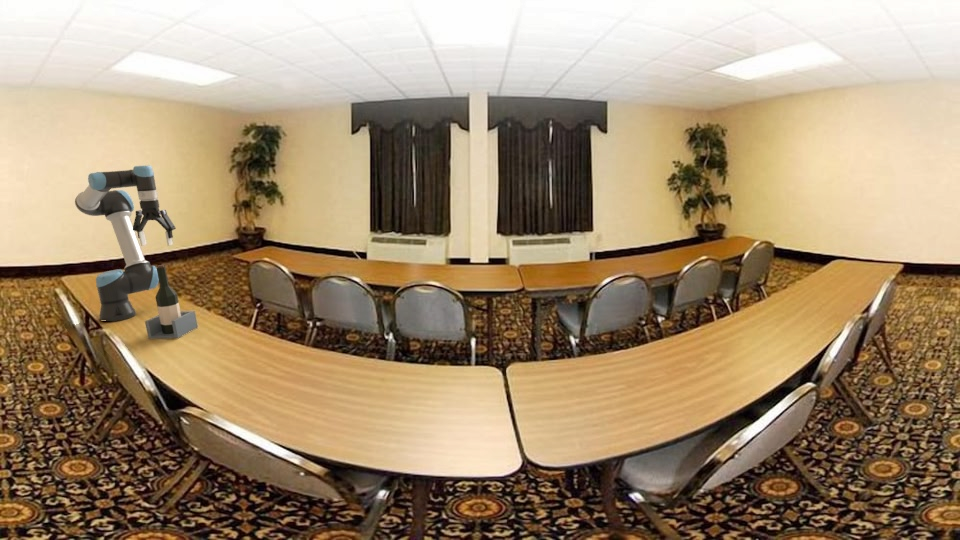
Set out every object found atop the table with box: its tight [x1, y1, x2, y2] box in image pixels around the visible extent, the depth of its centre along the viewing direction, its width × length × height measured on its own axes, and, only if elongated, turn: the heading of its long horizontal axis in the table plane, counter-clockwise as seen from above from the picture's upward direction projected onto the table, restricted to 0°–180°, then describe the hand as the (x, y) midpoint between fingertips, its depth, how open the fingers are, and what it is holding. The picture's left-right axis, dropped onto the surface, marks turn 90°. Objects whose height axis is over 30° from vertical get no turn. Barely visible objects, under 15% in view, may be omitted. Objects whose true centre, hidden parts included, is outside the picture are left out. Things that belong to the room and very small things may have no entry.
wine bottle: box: [155, 264, 181, 334], centre depth 241 cm, size 8×8×30 cm
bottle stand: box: [144, 310, 199, 340], centre depth 244 cm, size 14×14×8 cm
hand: (157, 245), depth 257 cm, fingers open, 13 cm apart
